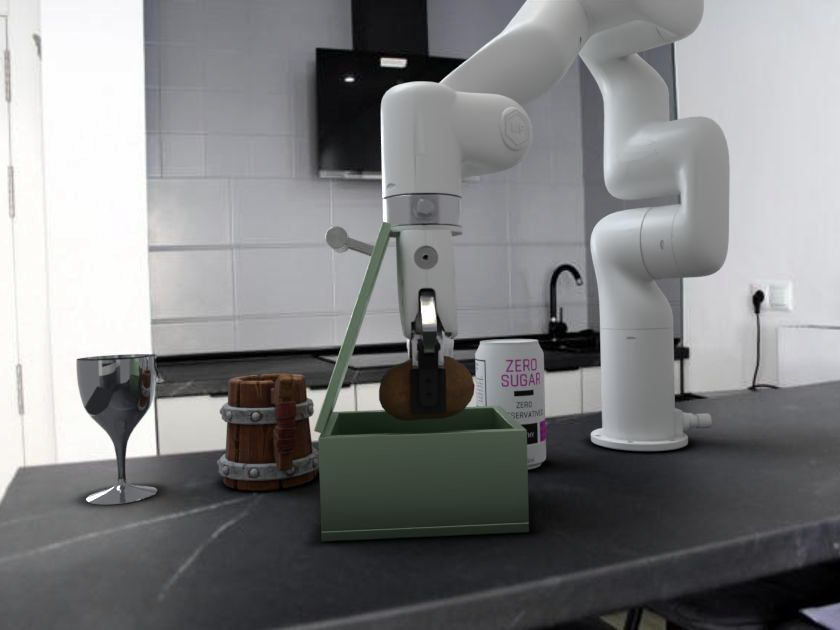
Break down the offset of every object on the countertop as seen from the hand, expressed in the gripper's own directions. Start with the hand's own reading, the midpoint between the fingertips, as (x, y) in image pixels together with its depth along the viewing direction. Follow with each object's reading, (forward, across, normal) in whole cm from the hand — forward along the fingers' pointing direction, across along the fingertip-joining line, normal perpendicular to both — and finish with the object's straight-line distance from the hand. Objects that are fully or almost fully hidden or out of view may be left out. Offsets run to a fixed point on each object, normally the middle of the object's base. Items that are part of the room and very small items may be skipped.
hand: (426, 405), depth 67 cm
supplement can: (+10, +18, -11) cm, 24 cm away
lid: (-8, 0, +6) cm, 10 cm away
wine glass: (+11, +11, +33) cm, 36 cm away
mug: (+10, +14, +17) cm, 24 cm away
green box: (+10, 0, +1) cm, 10 cm away
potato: (+1, 0, 0) cm, 1 cm away
